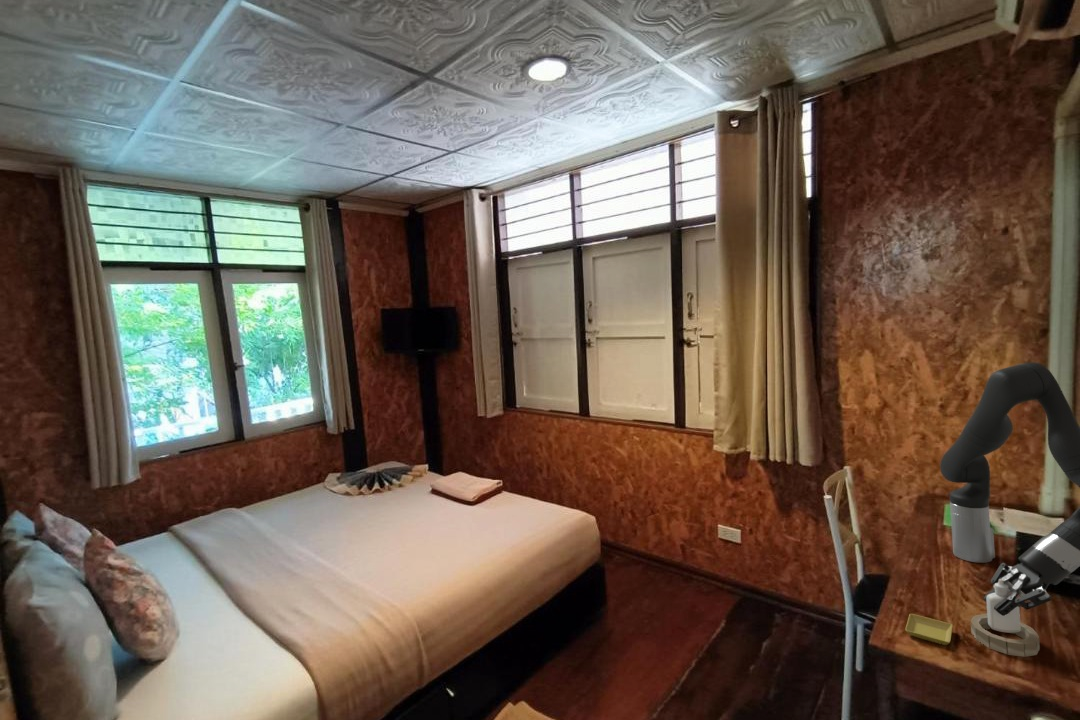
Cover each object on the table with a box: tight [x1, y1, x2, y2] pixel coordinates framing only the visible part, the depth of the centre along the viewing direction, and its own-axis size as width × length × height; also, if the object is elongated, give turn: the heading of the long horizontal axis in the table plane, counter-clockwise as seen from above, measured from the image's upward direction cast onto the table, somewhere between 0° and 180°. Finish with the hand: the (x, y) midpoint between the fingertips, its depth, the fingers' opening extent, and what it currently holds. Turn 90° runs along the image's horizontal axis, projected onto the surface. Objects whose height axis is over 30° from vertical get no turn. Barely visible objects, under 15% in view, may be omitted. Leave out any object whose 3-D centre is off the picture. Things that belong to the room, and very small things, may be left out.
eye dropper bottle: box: [985, 578, 1021, 634], centre depth 114 cm, size 4×6×12 cm
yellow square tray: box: [904, 613, 954, 646], centre depth 120 cm, size 9×9×2 cm
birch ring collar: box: [970, 613, 1041, 658], centre depth 115 cm, size 11×11×3 cm
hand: (992, 607), depth 115 cm, fingers closed on eye dropper bottle, 3 cm apart
